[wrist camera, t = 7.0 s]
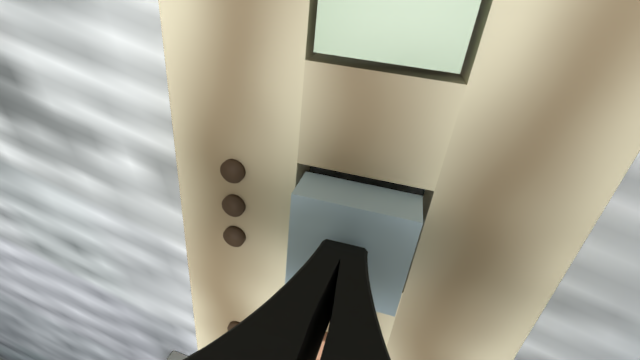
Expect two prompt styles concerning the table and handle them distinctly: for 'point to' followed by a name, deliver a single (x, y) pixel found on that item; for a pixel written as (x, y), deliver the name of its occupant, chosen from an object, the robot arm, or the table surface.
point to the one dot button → (398, 31)
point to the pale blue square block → (357, 229)
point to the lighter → (176, 356)
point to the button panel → (404, 156)
